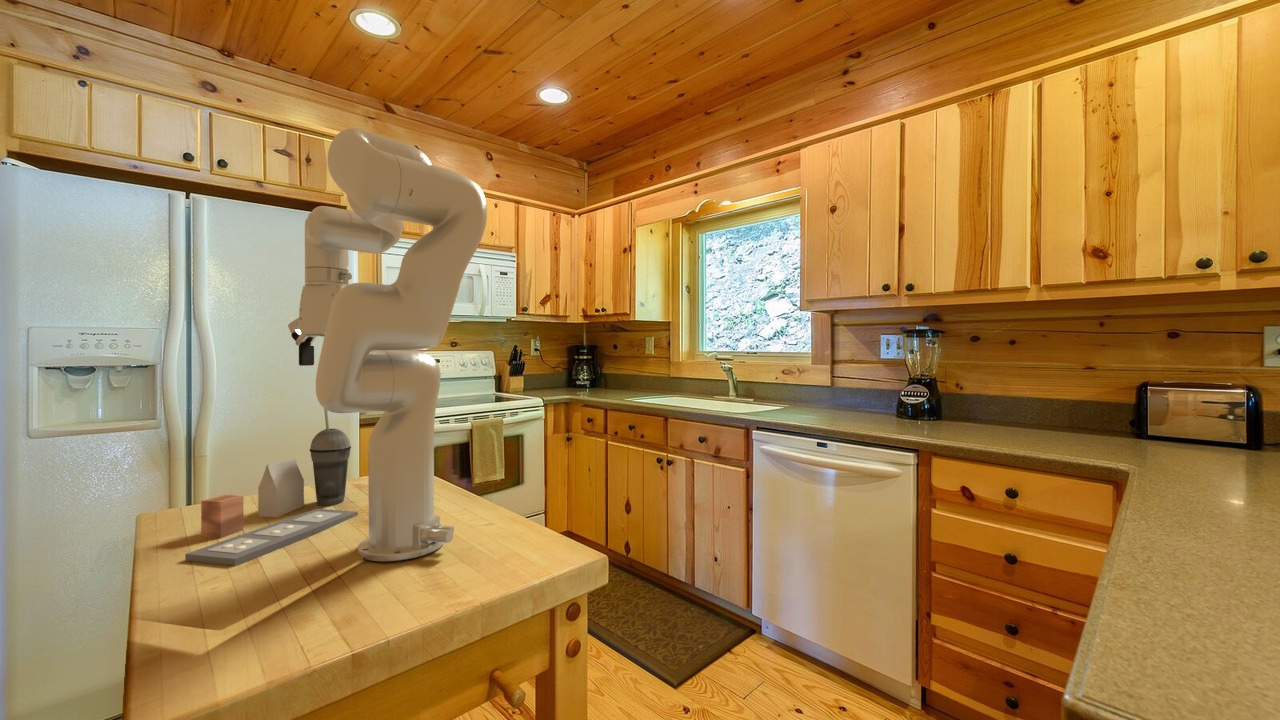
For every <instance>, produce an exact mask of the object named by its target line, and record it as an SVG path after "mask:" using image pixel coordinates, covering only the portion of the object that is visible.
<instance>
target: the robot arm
mask: <svg viewBox="0 0 1280 720" xmlns="http://www.w3.org/2000/svg"><path fill="white" fill-rule="evenodd" d="M327 168H328V171H329V174H330V177H331V179H332V180H333V182H335V184H336V185H337V186H338V188H339V189H340V190H341V191H342V192H344V194H345V195H346V199H347V202H348V204H349V206H350V208H351V210H350V209H345V208H338V207H334V206H327V205H319V206H316V207H315V208H313V209H312V211H311V212H309V213H308V215H307V217H306V219H305V220H304V285H303V286H302V289H301V295H300V301H299V310H298V317H297V318H295V319H294V320H293V321H291V322H289V323H288V324H287V326H288V329H289V332H290V334H291V338H293V341H295V345H296V346H298V365H299V366H301V367H302V366H307V367H308V366H314V365H315V346H314V345H312V344H313V343H314V341H315V339H316V338H317V337H323V341H322V346H321V351H320V355H319V359H318V364H317V368H316V369H317V370H316V376H315V395H316V398H317V401H318V403H319V405H320V406H321V407H322V408H323V410H324V409H326V410H327V412H330V413H334V414H352V413H353V414H355V413H370V412H371V413H372V412H383V413H382V414H381V416H380V417H379V419H378V421H377V422H376V424H375V425H374V427H373V429H371V433H370V436H369V439H368V537H366V538H365V539H363V540H362V541H360V542H359V543H358V545H357V553H358V555H359V556H360V557H362V559H365V560H367V561H373V562H395V561H396V562H397V561H404V560H410V559H415V558H419V557H423V556H425V555H426V556H427V555H428V554H431V553H433V552H435V551H437V550H438V549H440V548H441V547H442V546H443V545H444V543H445V544H449V543H451V542H452V541H453V537H454V532H455V527H454V526H453V525H451V526H450V525H442V524H441V516H440V515H435V504H434V503H435V483H434V482H435V479H434V478H435V466H434V465H435V460H434V458H435V455H434V454H435V453H434V452H435V451H434V450H435V420H436V408H437V403H438V396H439V392H440V387H441V369H440V365H439V364H438V362H437V360H436V359H435V358H434V357H433V356H431V355H430V354H428V353H426V352H424V351H425V350H430V349H433V348H436V347H438V345H440V344H441V342H442V340H443V339H444V337H445V334H446V332H447V328H448V327H449V322H450V320H451V318H452V317H451V316H452V313H453V310H454V306H455V304H456V300H457V298H458V294H459V290H460V286H461V282H462V280H463V277H464V274H465V272H466V270H467V268H468V266H469V263H470V262H471V260H472V258H473V257H474V254H476V251H477V249H478V248H479V245H480V243H481V241H482V239H483V236H484V233H485V231H486V227H487V222H488V221H487V219H488V206H487V200H486V199H487V198H486V196H485V194H484V192H483V190H482V188H481V187H480V186H479V185H478V184H477V183H476V182H475V181H473V180H472V179H471V178H469V177H467V176H465V175H463V174H461V173H459V172H457V171H453V170H450V169H447V168H444V167H441V166H438V165H433V164H432V162H431V161H430V159H429V158H428V156H427V155H426V154H425V153H424V152H423V151H422V150H421V149H418V147H416V146H414V145H412V144H409V143H407V142H403V141H401V140H397V139H394V138H390V137H386V136H384V135H381V134H377V133H374V132H371V131H368V130H364V129H361V128H355V127H349V128H346V129H342V131H339V132H338V133H337V134H336V135H335V136H334V138H333V139H332V141H331V142H330V145H329V148H328V152H327ZM405 222H410V223H415V224H421V225H426V226H431V227H432V229H431V230H430V231H429V232H427V233H425V234H424V235H422V236H420V238H418V239H417V240H416V241H415V242H414V243H413V244H412V245H411V246H409V248H408V250H407V251H406V252H405V253H404V255H403V257H402V260H401V263H400V268H399V272H398V276H397V278H396V280H395V281H394V282H393V283H391V284H385V283H384V284H383V283H372V282H353V283H350V284H349V280H352V279H353V275H352V273H350V272H349V251H353V252H360V253H365V254H366V253H367V254H371V255H372V254H375V255H376V254H382V253H385V252H387V251H388V250H390V249H391V248H393V246H395V245H397V243H399V241H400V239H401V238H402V234H403V231H404V226H405ZM423 350H424V351H423Z"/></svg>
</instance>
